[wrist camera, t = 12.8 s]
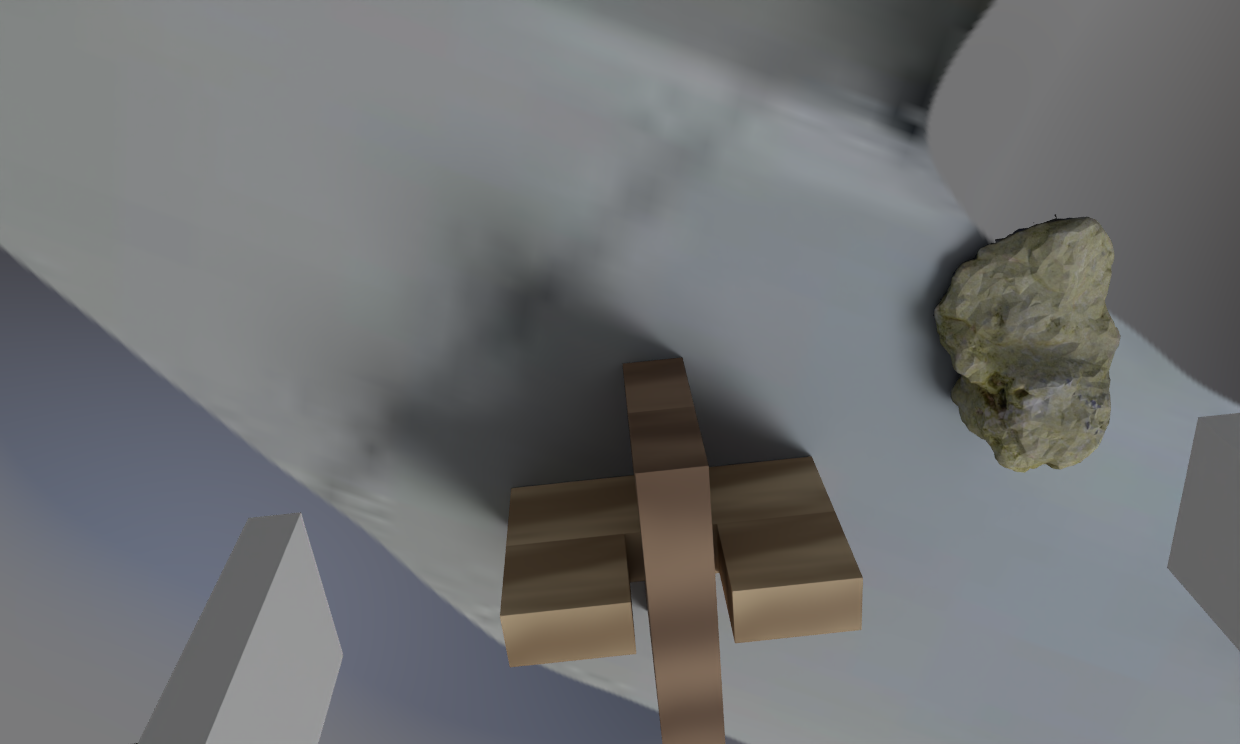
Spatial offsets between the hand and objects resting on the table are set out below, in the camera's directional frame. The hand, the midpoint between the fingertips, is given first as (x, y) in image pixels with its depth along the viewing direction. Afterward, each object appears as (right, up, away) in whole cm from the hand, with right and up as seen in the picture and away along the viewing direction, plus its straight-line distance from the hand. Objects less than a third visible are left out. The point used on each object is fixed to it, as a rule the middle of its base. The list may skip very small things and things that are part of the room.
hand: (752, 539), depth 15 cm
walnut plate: (0, -4, +38) cm, 38 cm away
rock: (+18, +5, +35) cm, 39 cm away
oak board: (0, -4, +38) cm, 38 cm away
